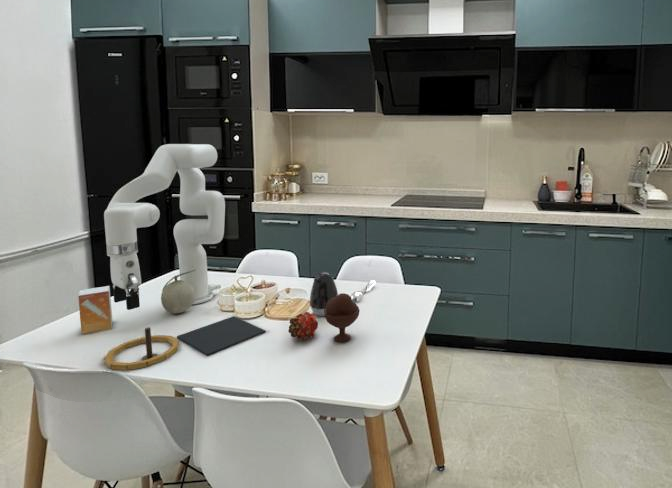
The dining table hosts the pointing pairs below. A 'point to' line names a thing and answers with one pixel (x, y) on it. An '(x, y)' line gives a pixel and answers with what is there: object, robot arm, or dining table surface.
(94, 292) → the small box
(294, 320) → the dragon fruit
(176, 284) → the fruit
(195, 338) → the mat
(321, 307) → the dark grey tall dome
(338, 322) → the ice cream bowl
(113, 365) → the ring
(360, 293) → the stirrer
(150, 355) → the post
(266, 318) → the dining table surface
